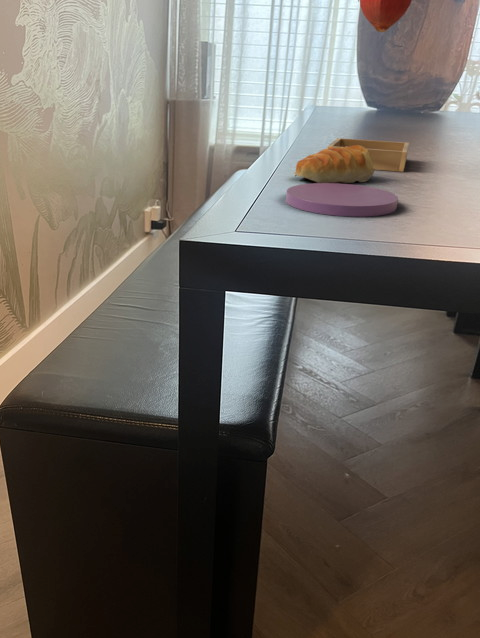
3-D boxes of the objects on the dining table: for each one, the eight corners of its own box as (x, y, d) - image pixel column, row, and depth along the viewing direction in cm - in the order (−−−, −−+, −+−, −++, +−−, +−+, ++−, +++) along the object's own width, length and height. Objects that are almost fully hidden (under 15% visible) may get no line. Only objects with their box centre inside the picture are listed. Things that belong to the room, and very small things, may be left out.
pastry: (317, 187, 68) (321, 151, 66) (280, 177, 73) (283, 144, 72) (377, 181, 73) (382, 147, 71) (338, 172, 78) (342, 141, 76)
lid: (370, 192, 67) (372, 182, 66) (416, 216, 57) (418, 205, 57) (273, 192, 65) (274, 183, 65) (303, 217, 56) (305, 206, 55)
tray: (335, 155, 91) (337, 137, 89) (405, 161, 88) (409, 142, 87) (325, 165, 82) (327, 146, 81) (403, 172, 79) (406, 151, 78)
